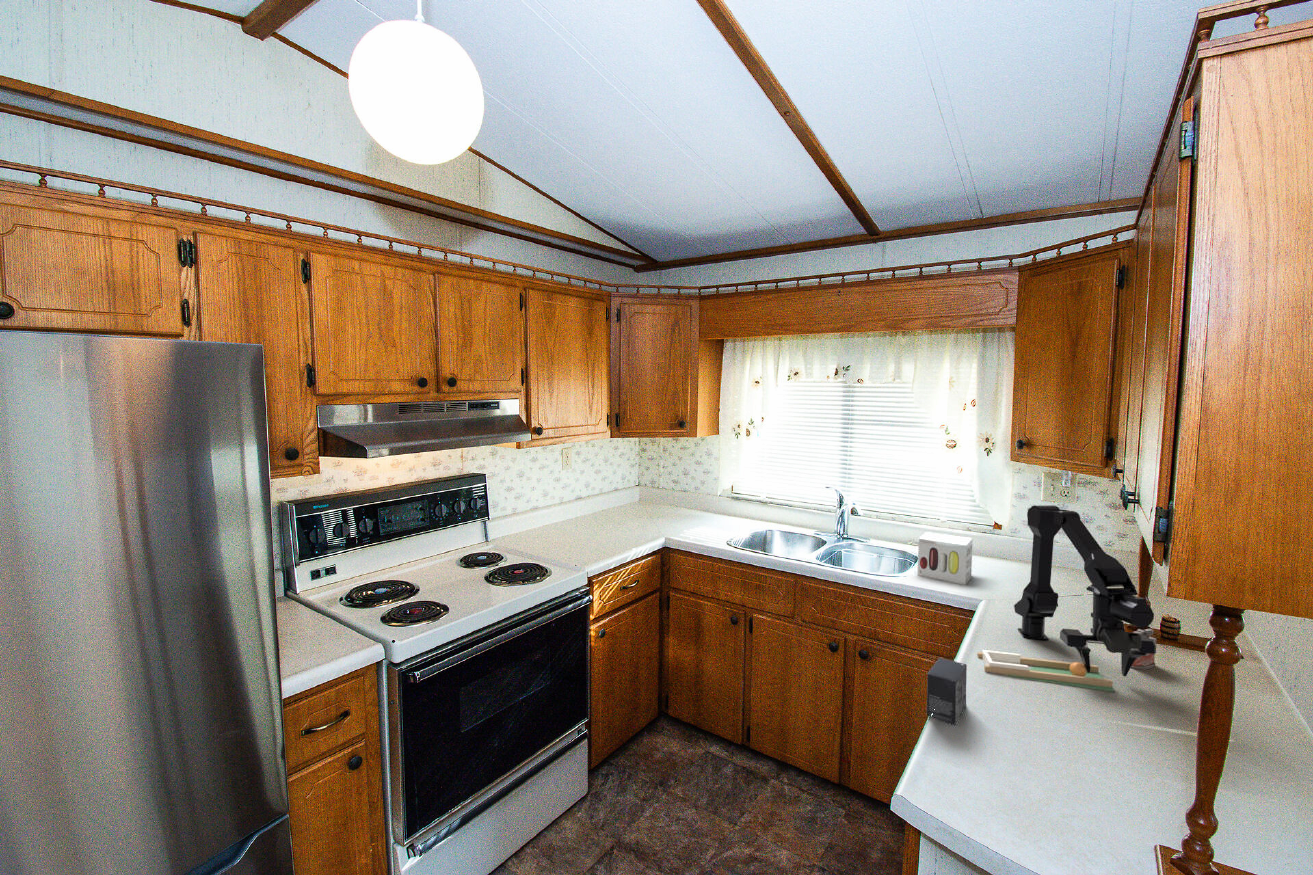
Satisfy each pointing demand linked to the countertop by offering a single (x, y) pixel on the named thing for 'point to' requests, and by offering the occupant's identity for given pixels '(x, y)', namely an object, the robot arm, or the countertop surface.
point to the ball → (1078, 669)
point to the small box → (946, 690)
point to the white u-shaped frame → (1003, 660)
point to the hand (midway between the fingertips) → (1106, 673)
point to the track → (1054, 673)
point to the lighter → (1148, 659)
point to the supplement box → (945, 557)
